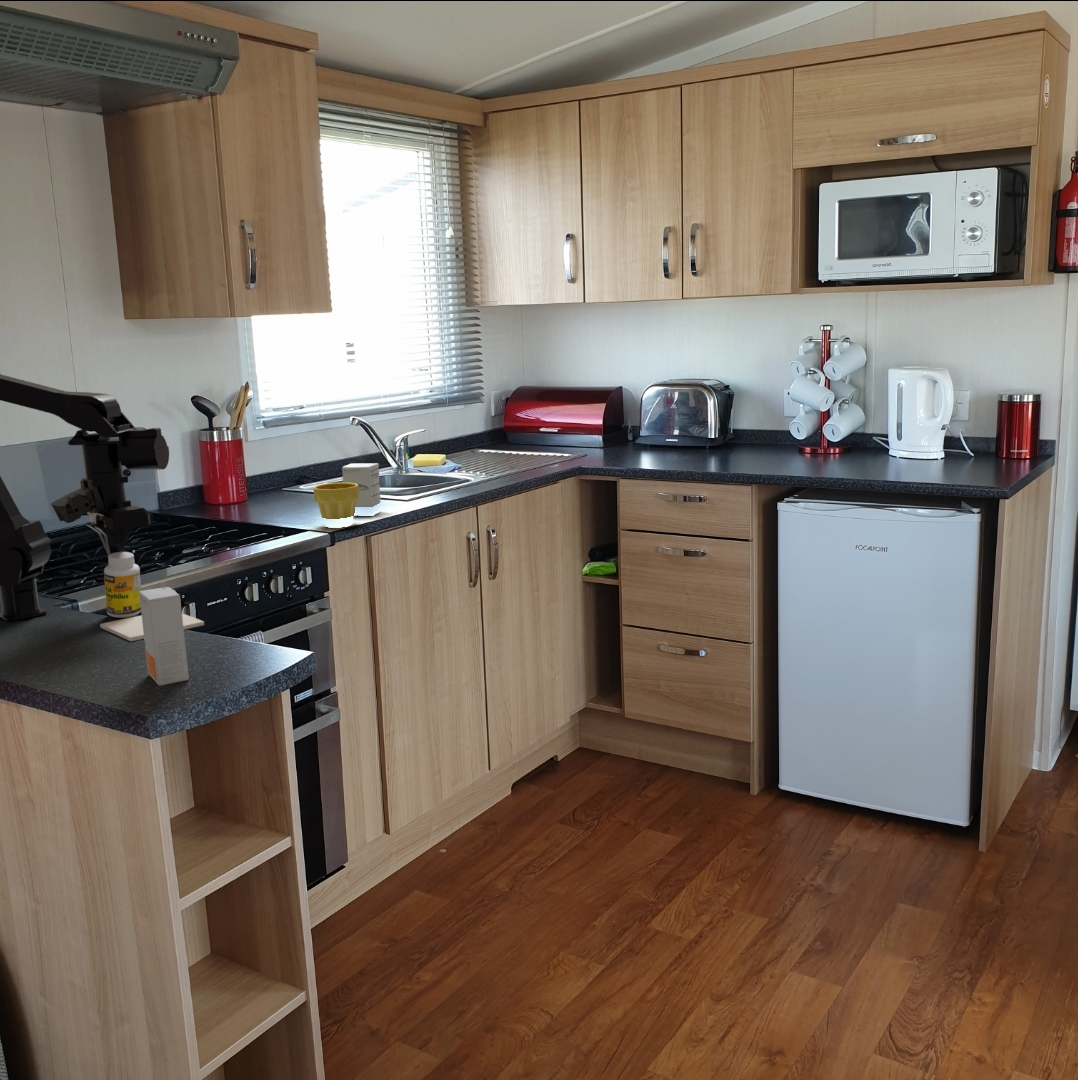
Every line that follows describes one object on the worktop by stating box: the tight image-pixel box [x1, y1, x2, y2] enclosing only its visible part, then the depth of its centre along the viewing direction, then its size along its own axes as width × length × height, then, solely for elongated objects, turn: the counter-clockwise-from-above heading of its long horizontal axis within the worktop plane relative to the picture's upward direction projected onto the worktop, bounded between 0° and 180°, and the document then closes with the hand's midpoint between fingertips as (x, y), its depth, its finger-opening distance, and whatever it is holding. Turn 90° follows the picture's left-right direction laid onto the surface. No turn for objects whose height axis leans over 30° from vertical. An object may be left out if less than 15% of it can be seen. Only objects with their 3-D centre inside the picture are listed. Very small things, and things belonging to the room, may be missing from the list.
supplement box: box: [341, 462, 381, 507], centre depth 275 cm, size 7×7×13 cm
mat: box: [99, 612, 205, 642], centre depth 177 cm, size 12×12×1 cm
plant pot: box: [313, 481, 359, 519], centre depth 260 cm, size 10×10×10 cm
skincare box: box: [139, 586, 190, 686], centre depth 149 cm, size 6×4×12 cm
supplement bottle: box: [103, 551, 142, 619], centre depth 184 cm, size 6×6×10 cm
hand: (115, 563), depth 185 cm, fingers closed
